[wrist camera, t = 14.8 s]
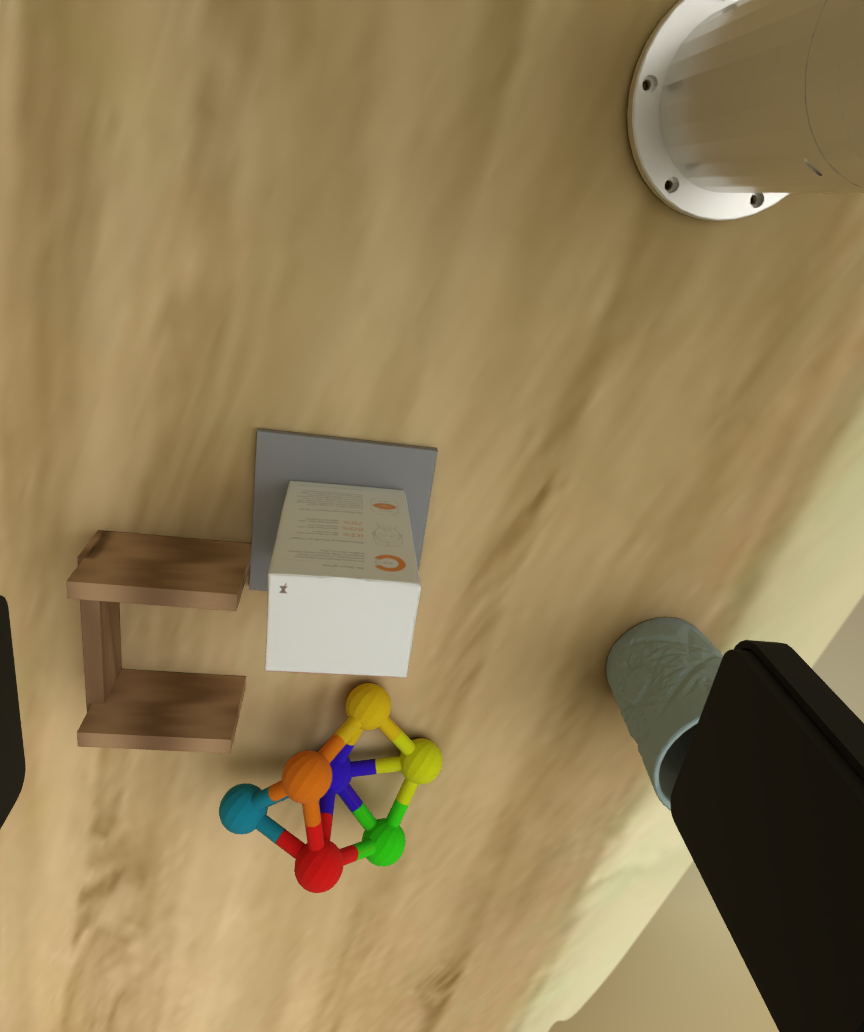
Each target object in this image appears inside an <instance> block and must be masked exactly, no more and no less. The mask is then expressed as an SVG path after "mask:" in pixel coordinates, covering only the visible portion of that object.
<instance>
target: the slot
mask: <svg viewBox="0 0 864 1032" xmlns="http://www.w3.org/2000/svg"><path fill="white" fill-rule="evenodd" d="M251 546H252V544H249V543H237V542H226V541H215V540H203V539H192V538H181V537H169V536H158V535H147V534H135V533H124V532H113V531H101V530H98V532H97V533H96V534H95V535H94V537H93V538H92V539H91V541H90V542H89V543H88V545H87V546H86V547H85V548H84V550H83V551H82V552H81V554H80V555H79V556H78V567H77V568H76V569H75V571H74V572H73V573H72V575H71V576H70V577H69V579H68V580H67V595H68V599H80V606H81V622H82V639H83V655H84V672H85V688H86V704H87V714H86V716H85V718H84V720H83V722H82V724H81V726H80V728H79V730H78V731H77V740H78V746H80V747H102V748H124V749H146V750H168V751H190V752H212V753H231V749H232V744H233V740H234V736H235V731H236V727H237V723H238V718H239V714H240V709H241V705H242V701H243V696H244V692H245V683H246V677H243V676H227V675H211V674H194V673H178V672H162V671H145V670H129V669H122V666H121V638H120V609H119V602H122V603H135V604H149V605H162V606H176V607H189V608H203V609H216V610H230V611H237V608H238V604H239V601H240V597H241V594H242V590H243V587H244V584H245V580H246V577H247V573H248V570H249V567H250V563H251Z"/></svg>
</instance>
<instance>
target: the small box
mask: <svg viewBox="0 0 864 1032" xmlns="http://www.w3.org/2000/svg"><path fill="white" fill-rule="evenodd" d="M420 592H421V582H420V577H419V572H418V567H417V561H416V555H415V549H414V543H413V537H412V530H411V524H410V518H409V512H408V506H407V500H406V495H405V492H404V491H403V490H395V489H384V488H373V487H361V486H350V485H339V484H327V483H314V482H302V481H290V482H289V485H288V489H287V493H286V497H285V501H284V505H283V509H282V513H281V518H280V522H279V527H278V532H277V537H276V541H275V545H274V550H273V554H272V558H271V563H270V568H269V572H268V604H267V637H266V661H265V670H266V671H278V672H299V673H321V674H341V675H362V676H382V677H402V678H405V677H406V675H407V671H408V665H409V658H410V652H411V646H412V640H413V634H414V628H415V622H416V616H417V610H418V604H419V598H420Z"/></svg>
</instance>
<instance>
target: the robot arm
mask: <svg viewBox="0 0 864 1032" xmlns="http://www.w3.org/2000/svg"><path fill="white" fill-rule="evenodd" d="M643 81H646V82H647V83H648V88H647V90H646V91H645V90H643V88H642V83H643ZM627 121H628V137H629V141H630V146H631V150H632V154H633V158H634V160H635V163H636V165H637V167H638V169H639V172H640V174H641V176H642V178H643V179H644V181H645V182H646V184H647V185H648V186H649V188H650V189H651V191H652V192H653V193H654V194H655V195H656V196H657V197H658V198H659V199H660V200H661V201H663V202H664V203H665V204H666V205H667V206H669V207H670V208H672V209H674V210H676V211H678V212H679V213H681V214H683V215H686V216H690V217H693V218H697V219H700V220H710V221H728V220H737V219H741V218H745V217H749V216H753V215H755V214H757V213H760V212H762V211H764V210H766V209H768V208H770V207H772V206H774V205H775V204H777V203H778V202H779V201H781V200H782V199H784V198H785V197H787V196H788V195H789V194H791V193H864V0H679V1H678V2H677V3H676V4H675V5H674V6H673V7H672V8H671V9H670V10H669V11H668V13H667V14H666V15H665V16H664V17H663V18H662V19H661V20H660V22H659V23H658V25H657V26H656V28H655V29H654V31H653V33H652V34H651V36H650V37H649V39H648V40H647V42H646V44H645V46H644V49H643V51H642V53H641V55H640V58H639V60H638V62H637V64H636V67H635V71H634V75H633V79H632V82H631V86H630V91H629V100H628V110H627ZM666 181H669V183H670V186H669V188H668V189H667V190H666V189H665V182H666ZM751 197H753V201H752V203H751V204H750V198H751ZM24 777H25V757H24V748H23V739H22V730H21V720H20V711H19V702H18V693H17V684H16V674H15V665H14V656H13V647H12V638H11V628H10V619H9V610H8V604H7V601H6V599H5V597H3V596H1V595H0V829H1V827H2V825H3V823H4V822H5V820H6V818H7V816H8V815H9V813H10V811H11V809H12V808H13V806H14V804H15V802H16V800H17V799H18V796H19V794H20V792H21V789H22V786H23V782H24ZM670 805H671V813H672V817H673V820H674V822H675V824H676V826H677V828H678V830H679V832H680V834H681V836H682V838H683V840H684V842H685V844H686V846H687V848H688V850H689V852H690V854H691V856H692V858H693V860H694V862H695V864H696V866H697V868H698V870H699V872H700V874H701V876H702V878H703V880H704V882H705V884H706V886H707V888H708V890H709V892H710V894H711V896H712V898H713V900H714V902H715V904H716V906H717V908H718V910H719V912H720V914H721V916H722V918H723V920H724V922H725V924H726V926H727V928H728V930H729V932H730V934H731V936H732V938H733V940H734V942H735V944H736V946H737V948H738V950H739V952H740V954H741V956H742V958H743V960H744V962H745V964H746V966H747V968H748V970H749V972H750V974H751V976H752V978H753V980H754V982H755V984H756V986H757V988H758V990H759V992H760V994H761V996H762V998H763V1000H764V1002H765V1004H766V1006H767V1008H768V1010H769V1012H770V1014H771V1016H772V1018H773V1020H774V1022H775V1023H776V1026H777V1028H778V1030H779V1032H864V724H863V722H862V721H861V720H860V719H859V718H858V717H857V716H856V715H855V714H854V713H853V712H852V711H851V710H850V709H849V708H848V707H847V706H846V705H845V703H844V702H843V701H842V700H841V699H840V698H839V697H838V696H837V695H836V694H835V693H834V692H833V691H832V690H831V689H830V688H829V687H828V686H827V685H826V684H825V682H824V681H823V680H822V679H821V678H820V677H819V676H818V675H817V674H816V673H815V672H814V671H813V670H812V669H811V668H810V667H809V665H808V664H807V663H806V662H805V661H804V660H803V659H802V658H801V657H800V656H799V655H798V654H797V653H796V652H795V651H794V650H793V649H792V648H791V647H790V646H788V645H787V644H784V643H777V642H764V641H751V640H744V641H741V642H739V643H738V644H737V645H736V646H735V648H734V650H729V651H727V652H726V653H725V654H724V656H723V658H722V660H721V663H720V666H719V668H718V671H717V673H716V676H715V679H714V681H713V684H712V687H711V689H710V692H709V695H708V697H707V700H706V703H705V705H704V708H703V711H702V713H701V716H700V719H699V721H698V724H697V726H696V729H695V732H694V734H693V737H692V740H691V742H690V745H689V748H688V750H687V753H686V756H685V758H684V761H683V764H682V766H681V769H680V772H679V774H678V777H677V779H676V782H675V785H674V787H673V790H672V794H671V800H670Z"/></svg>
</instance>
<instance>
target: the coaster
mask: <svg viewBox="0 0 864 1032" xmlns="http://www.w3.org/2000/svg"><path fill="white" fill-rule="evenodd" d="M437 452H438V451H437V448H430V447H421V446H412V445H403V444H394V443H385V442H376V441H367V440H358V439H349V438H340V437H331V436H322V435H313V434H304V433H295V432H286V431H278V430H269V429H260V428H258V431H257V447H256V467H255V487H254V507H253V526H252V546H251V566H250V586H249V589H250V590H263V591H268V572H269V568H270V563H271V558H272V554H273V550H274V545H275V541H276V537H277V532H278V527H279V522H280V518H281V513H282V509H283V505H284V501H285V497H286V493H287V489H288V485H289V482H290V481H302V482H314V483H327V484H339V485H350V486H361V487H373V488H384V489H395V490H403V491H404V492H405V495H406V500H407V506H408V512H409V518H410V524H411V530H412V537H413V543H414V549H415V555H416V561H417V567H418V571H419V565H420V558H421V552H422V546H423V540H424V533H425V527H426V521H427V514H428V508H429V502H430V496H431V489H432V483H433V477H434V471H435V464H436V458H437Z"/></svg>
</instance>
